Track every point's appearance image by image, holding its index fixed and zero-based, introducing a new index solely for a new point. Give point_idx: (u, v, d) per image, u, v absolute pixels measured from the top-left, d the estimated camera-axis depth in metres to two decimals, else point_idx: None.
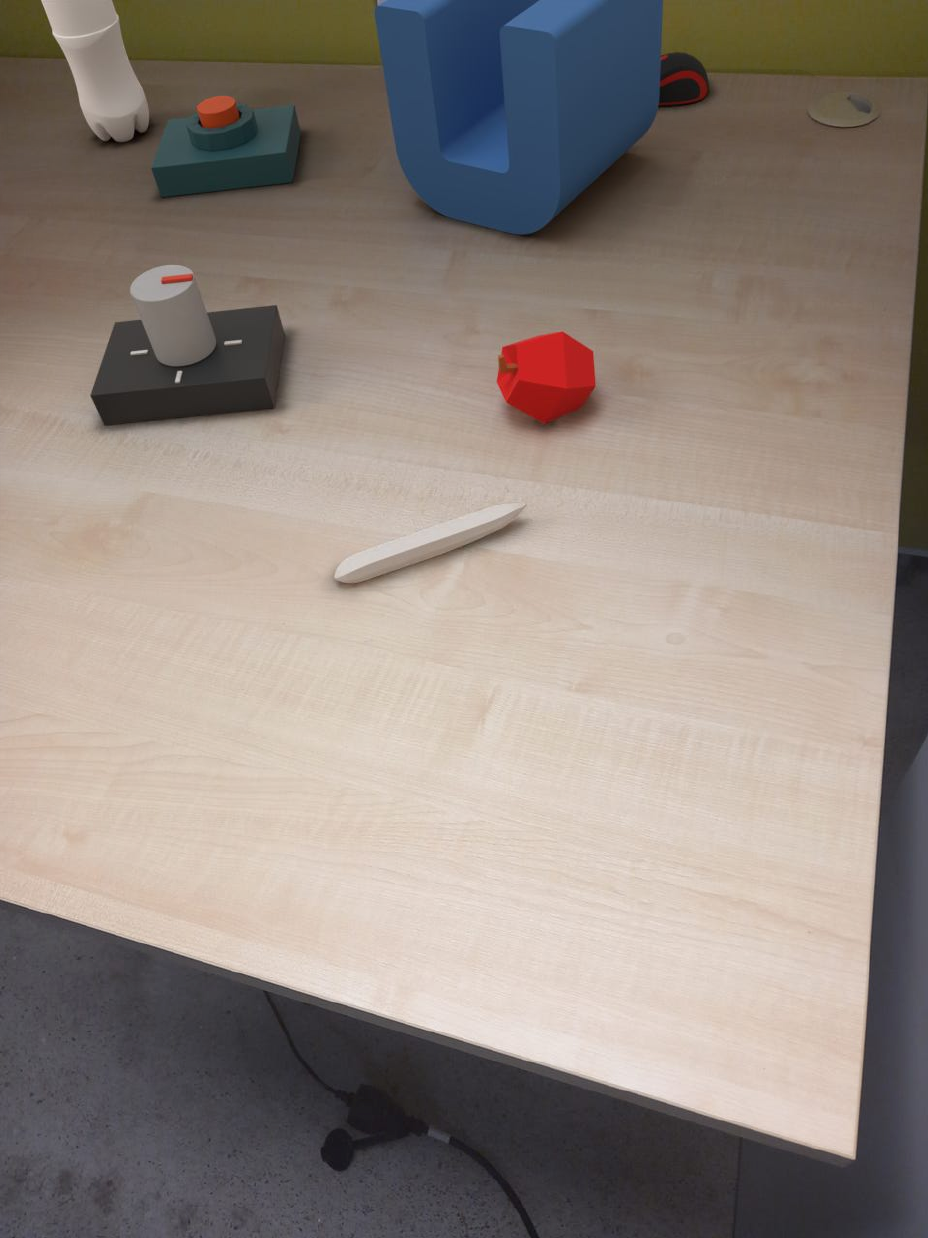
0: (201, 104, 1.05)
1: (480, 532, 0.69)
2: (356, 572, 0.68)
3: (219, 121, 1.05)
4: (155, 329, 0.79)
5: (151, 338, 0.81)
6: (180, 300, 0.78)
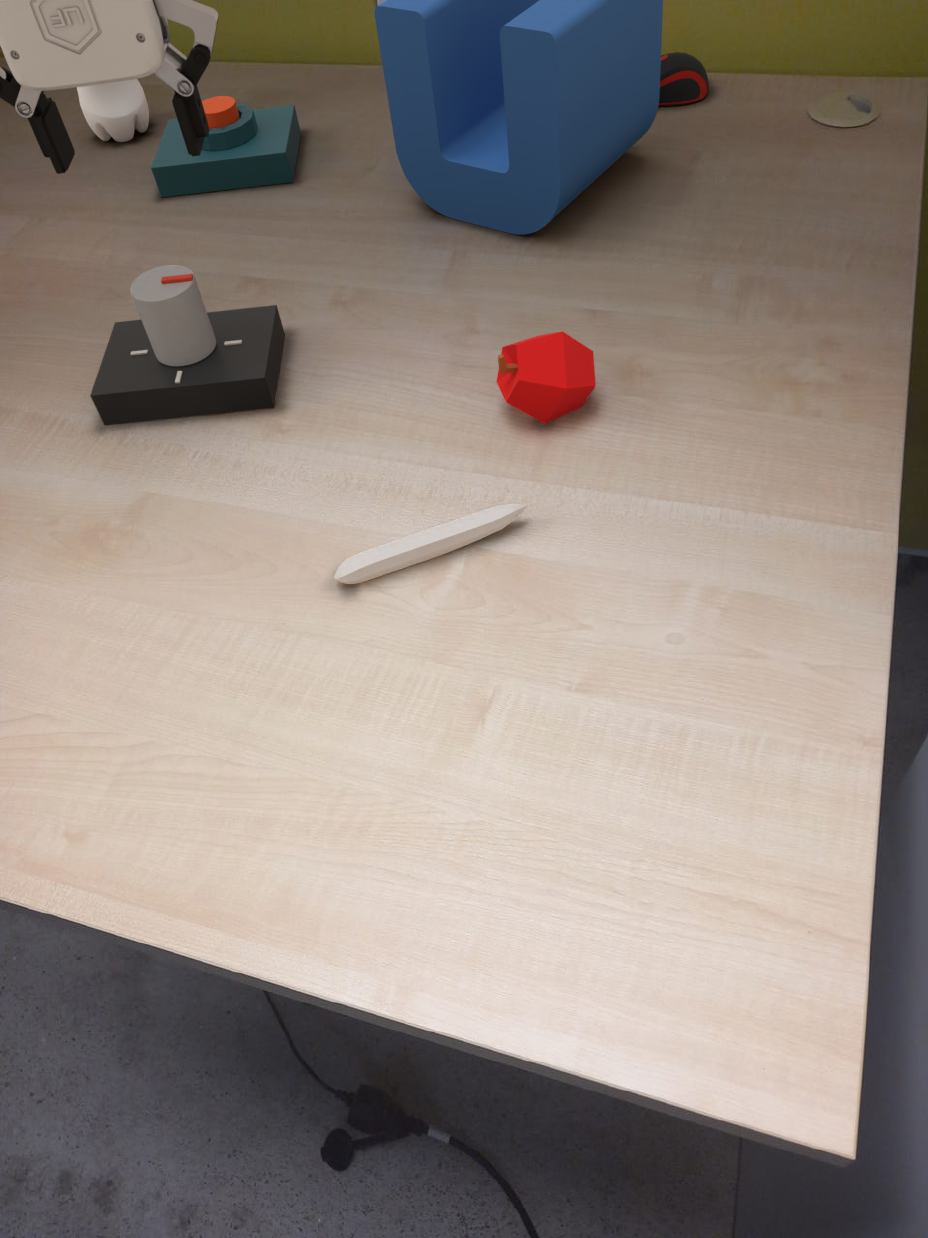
0: None
1: (480, 533, 0.69)
2: (356, 573, 0.68)
3: (219, 121, 1.05)
4: (155, 329, 0.79)
5: (151, 338, 0.81)
6: (180, 300, 0.78)
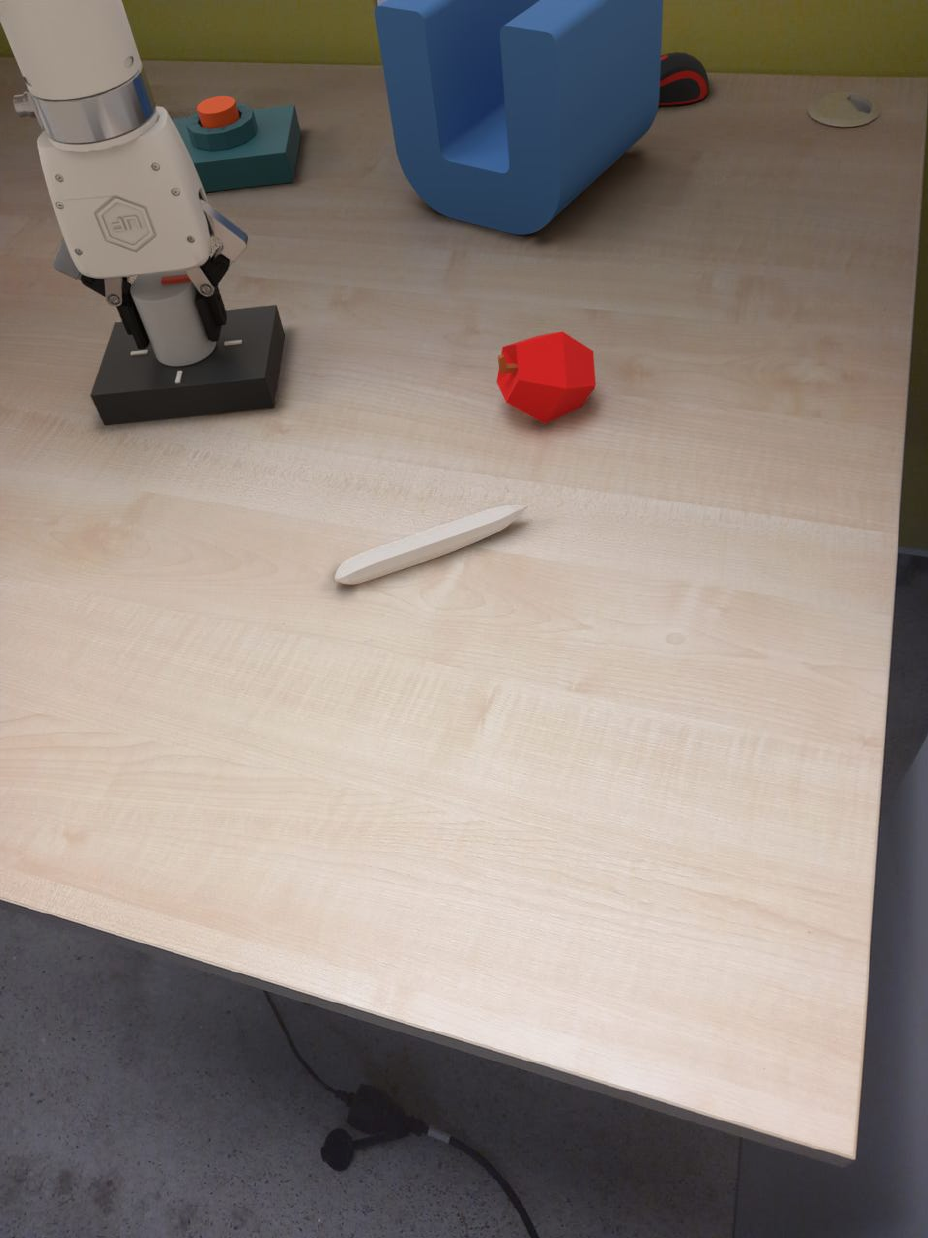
0: (201, 104, 1.05)
1: (481, 533, 0.69)
2: (357, 573, 0.68)
3: (219, 121, 1.05)
4: (155, 329, 0.79)
5: (151, 338, 0.81)
6: (180, 300, 0.78)
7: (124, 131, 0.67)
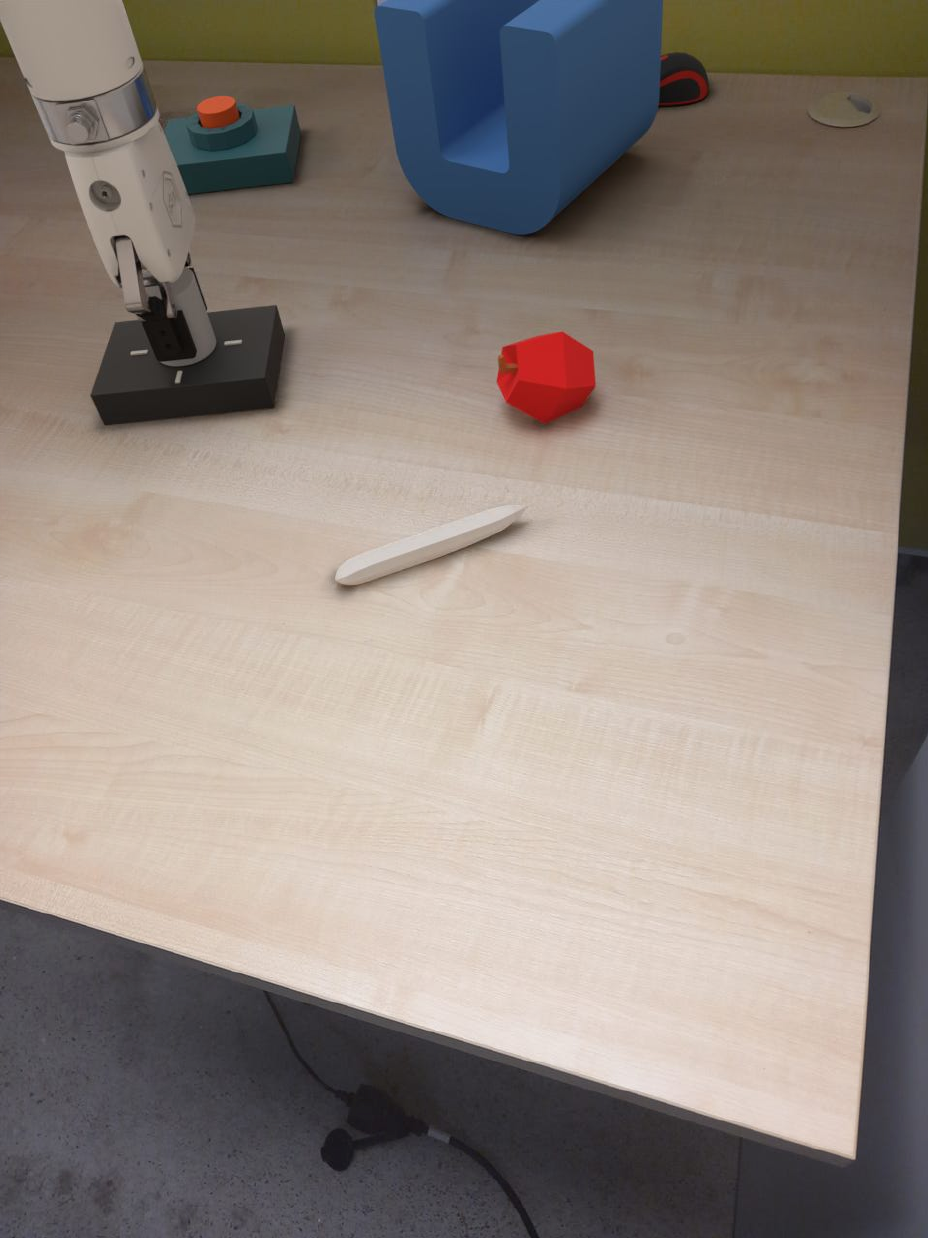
0: (201, 104, 1.05)
1: (481, 534, 0.69)
2: (357, 574, 0.68)
3: (219, 121, 1.05)
4: (199, 314, 0.80)
5: (194, 335, 0.80)
6: None
7: None
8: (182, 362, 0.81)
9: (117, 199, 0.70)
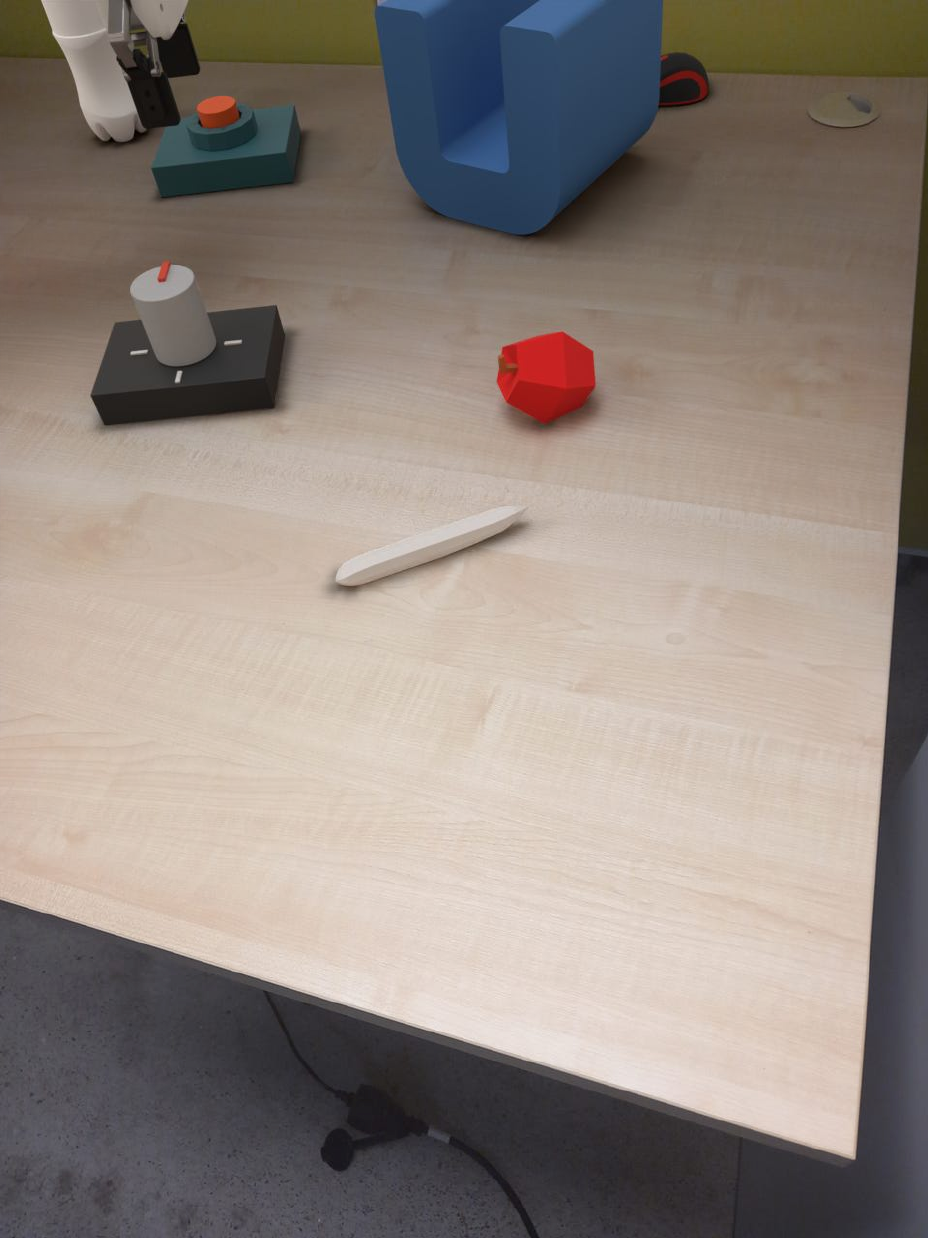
0: (201, 104, 1.05)
1: (481, 535, 0.69)
2: (357, 575, 0.68)
3: (219, 121, 1.05)
4: (199, 314, 0.80)
5: (194, 336, 0.80)
6: None
7: None
8: (182, 362, 0.81)
9: None
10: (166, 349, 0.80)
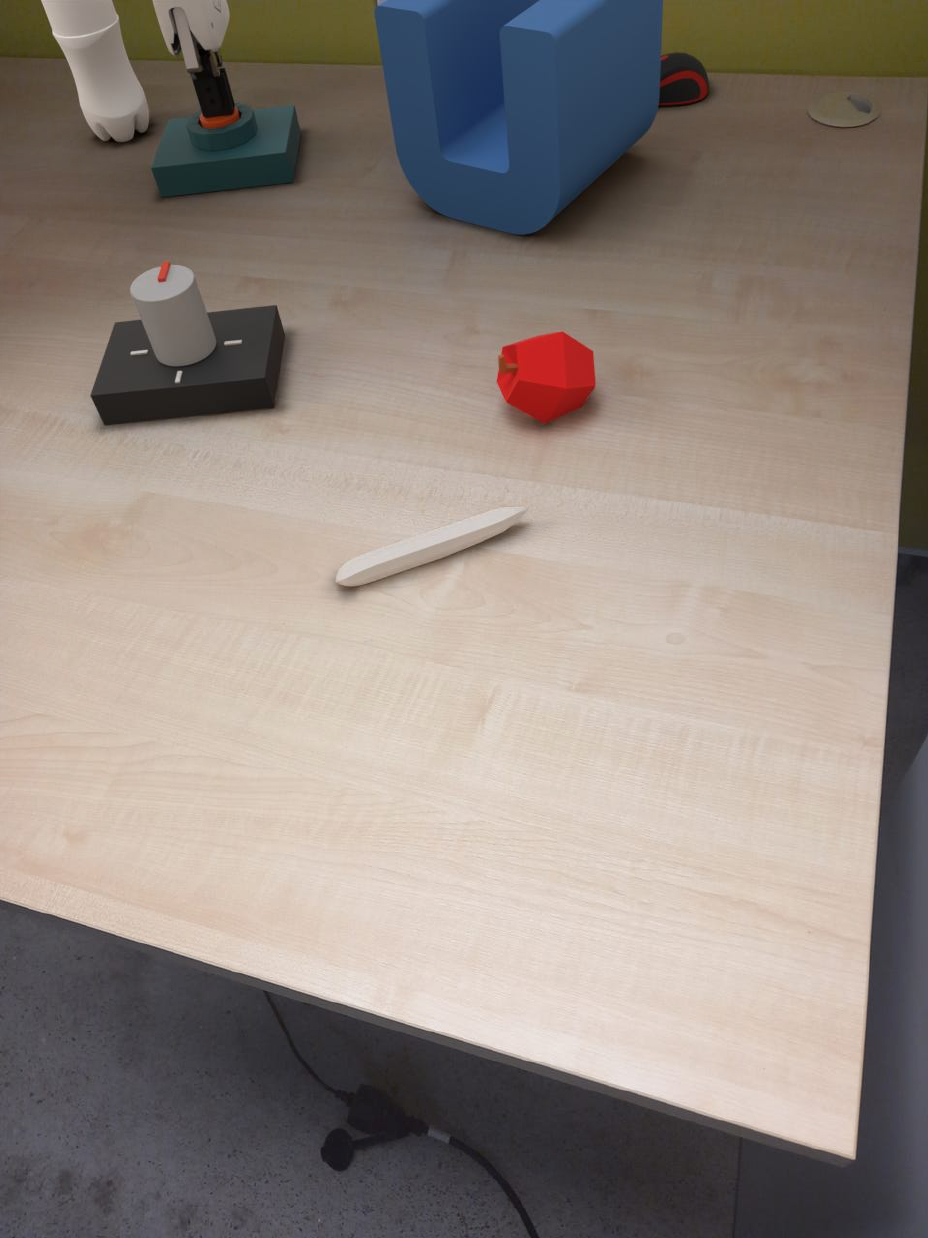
0: None
1: (482, 535, 0.69)
2: (357, 575, 0.67)
3: None
4: (199, 314, 0.80)
5: (194, 336, 0.80)
6: None
7: None
8: (182, 362, 0.81)
9: None
10: (166, 349, 0.80)
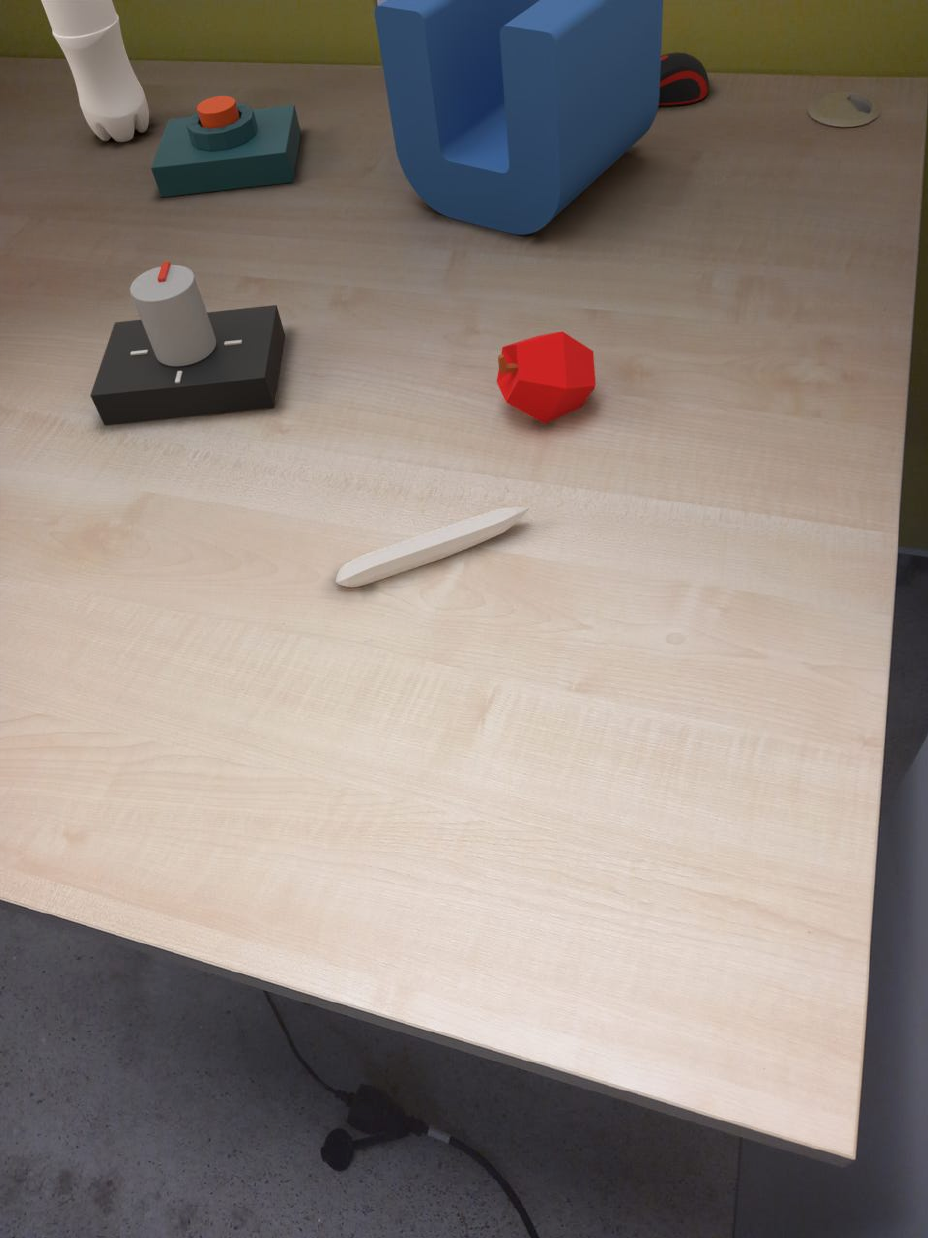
0: (201, 104, 1.05)
1: (482, 536, 0.69)
2: (358, 576, 0.67)
3: (219, 121, 1.05)
4: (199, 314, 0.80)
5: (194, 336, 0.80)
6: None
7: None
8: (182, 362, 0.81)
9: None
10: (166, 349, 0.80)
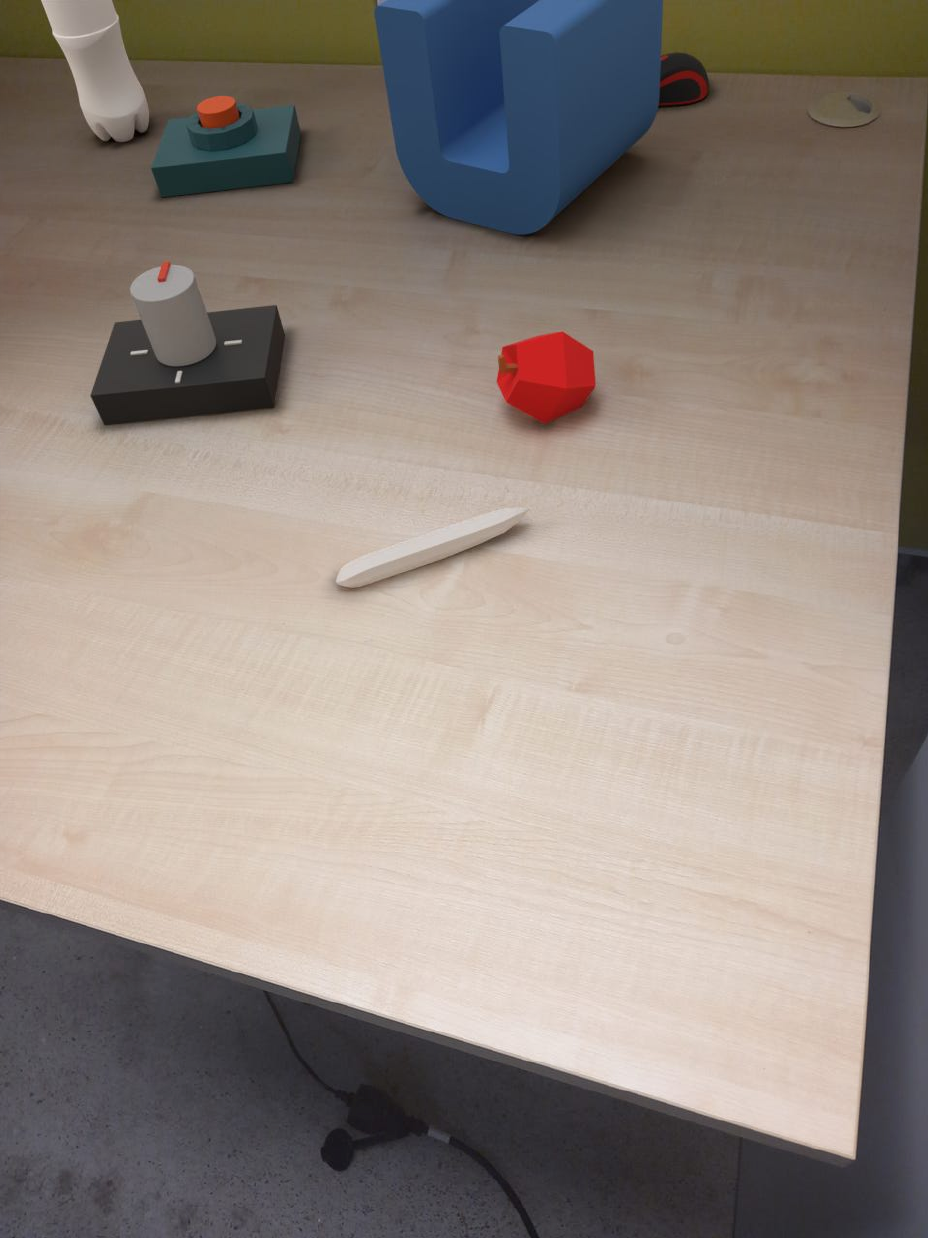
0: (201, 104, 1.05)
1: (482, 536, 0.69)
2: (358, 576, 0.67)
3: (219, 121, 1.05)
4: (199, 314, 0.80)
5: (194, 336, 0.80)
6: None
7: None
8: (182, 362, 0.81)
9: None
10: (166, 349, 0.80)
